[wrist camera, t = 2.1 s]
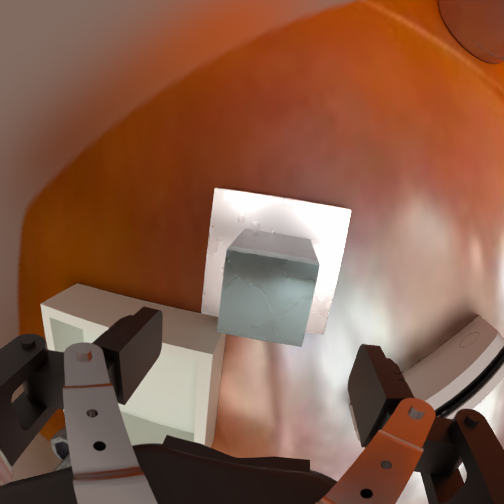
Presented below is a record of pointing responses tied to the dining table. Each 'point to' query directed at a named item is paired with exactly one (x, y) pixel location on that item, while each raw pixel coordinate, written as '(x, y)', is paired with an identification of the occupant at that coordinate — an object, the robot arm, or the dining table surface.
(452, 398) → the napkin holder
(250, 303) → the grey rectangular block
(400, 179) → the dining table surface
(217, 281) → the stud plate
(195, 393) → the bin
